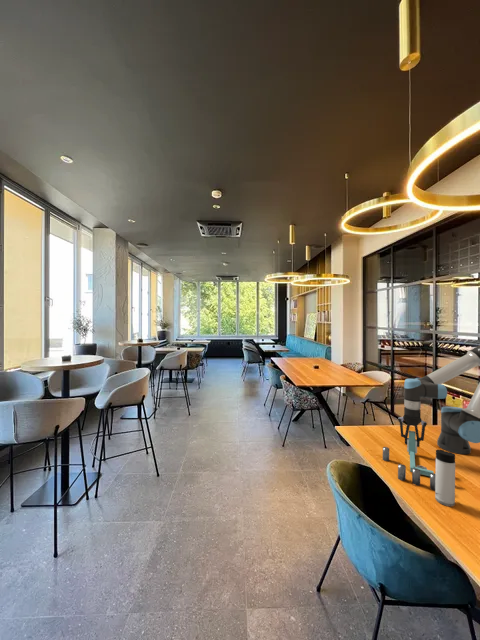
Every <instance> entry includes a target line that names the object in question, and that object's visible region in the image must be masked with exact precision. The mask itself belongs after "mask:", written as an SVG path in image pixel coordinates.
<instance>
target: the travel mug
mask: <svg viewBox="0 0 480 640" xmlns="http://www.w3.org/2000/svg"><path fill="white" fill-rule="evenodd" d="M435 474H436V475H435V491H434V492H435V493H434V497H435V501H436V502H438V503H439V504H441V505H442V506H445V507H454V506H455V505H456V453H453V452H449V451H446V450H444V449H436V450H435Z"/></svg>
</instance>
